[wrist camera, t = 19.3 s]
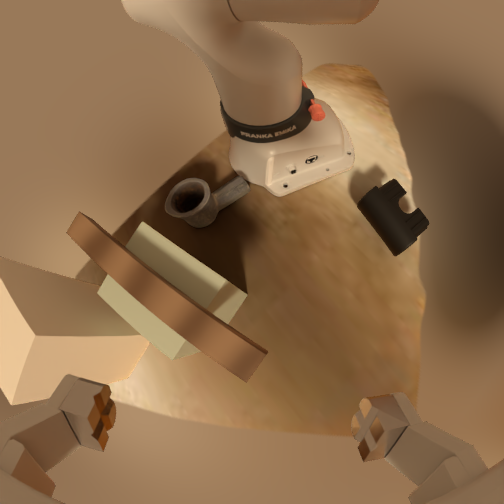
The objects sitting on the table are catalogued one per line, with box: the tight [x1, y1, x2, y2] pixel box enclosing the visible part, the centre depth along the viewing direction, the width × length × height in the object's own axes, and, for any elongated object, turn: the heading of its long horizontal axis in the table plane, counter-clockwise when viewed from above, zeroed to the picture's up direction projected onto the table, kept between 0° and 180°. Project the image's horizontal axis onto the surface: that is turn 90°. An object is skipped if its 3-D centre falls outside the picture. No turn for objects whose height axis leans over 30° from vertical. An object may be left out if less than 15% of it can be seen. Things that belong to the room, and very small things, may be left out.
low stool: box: [97, 221, 247, 360], centre depth 36 cm, size 12×10×16 cm
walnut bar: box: [67, 212, 268, 383], centre depth 27 cm, size 26×3×3 cm, turn 56°
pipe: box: [165, 175, 250, 228], centre depth 44 cm, size 6×13×8 cm, turn 122°
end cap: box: [357, 179, 429, 256], centre depth 40 cm, size 10×7×7 cm
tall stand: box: [0, 256, 150, 405], centre depth 32 cm, size 14×10×26 cm
